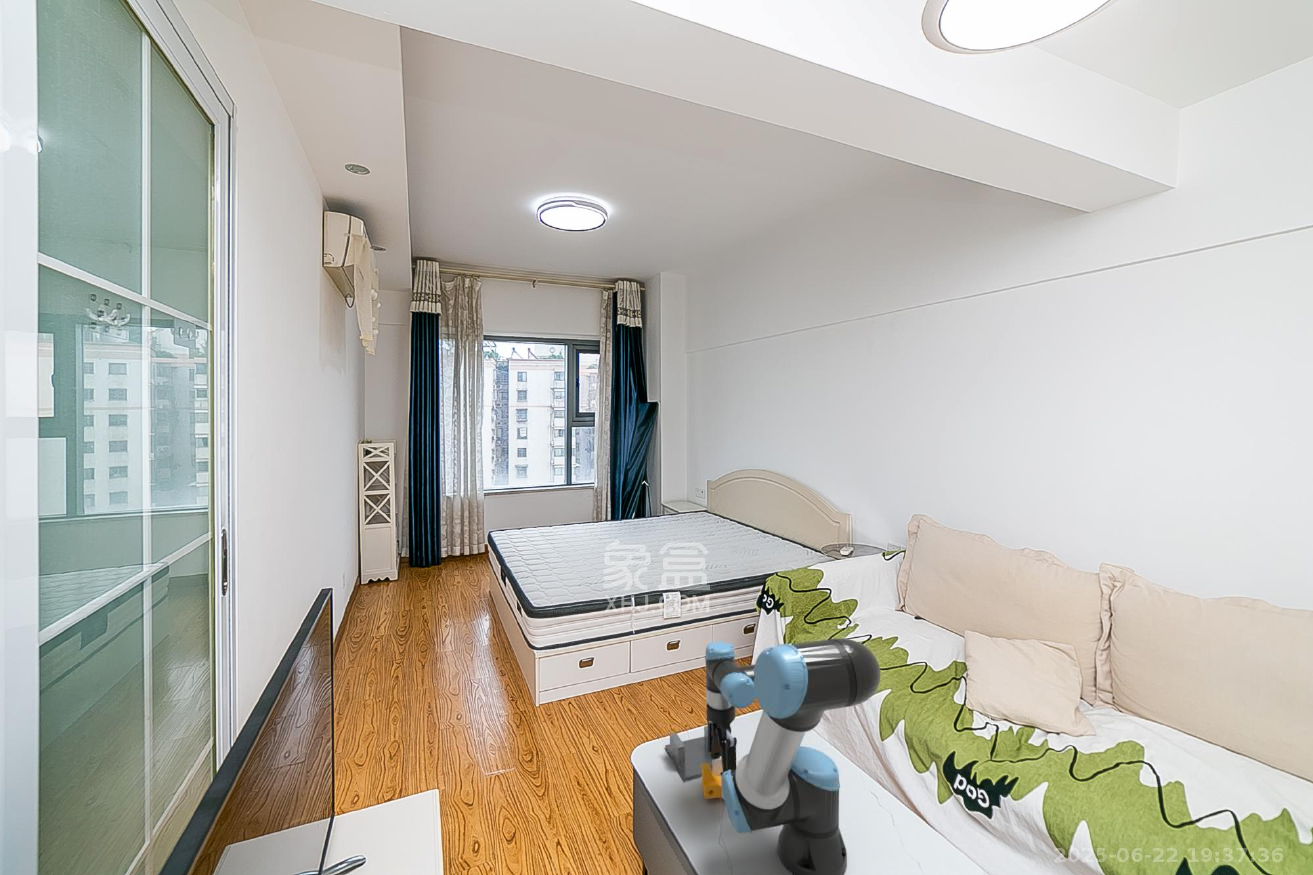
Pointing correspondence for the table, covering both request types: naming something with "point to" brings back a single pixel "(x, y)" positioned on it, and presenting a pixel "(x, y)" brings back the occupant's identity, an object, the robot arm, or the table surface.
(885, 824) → the table surface
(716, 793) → the orange angled block
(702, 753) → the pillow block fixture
